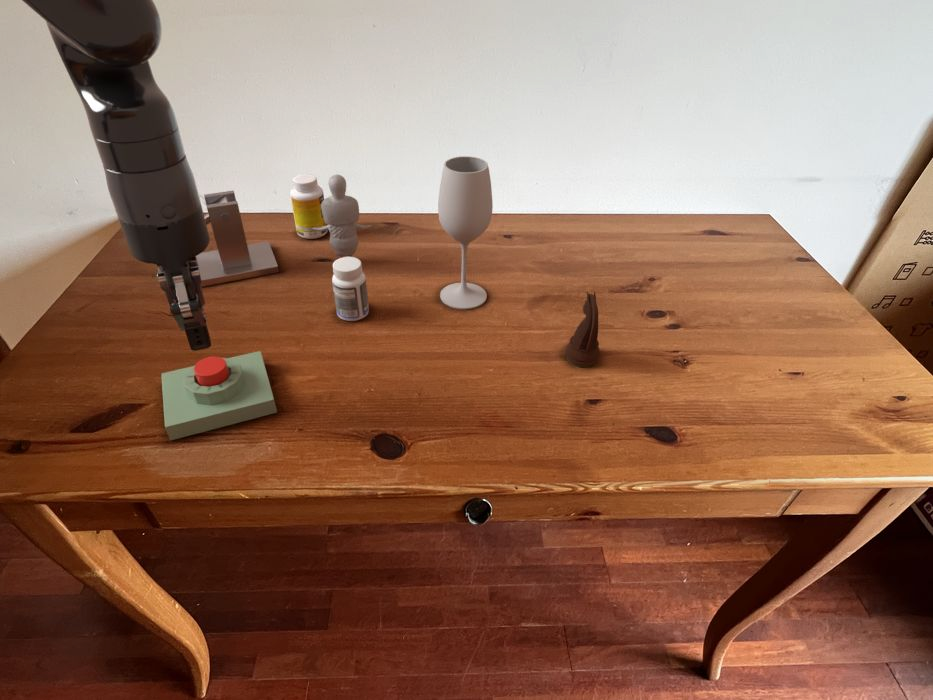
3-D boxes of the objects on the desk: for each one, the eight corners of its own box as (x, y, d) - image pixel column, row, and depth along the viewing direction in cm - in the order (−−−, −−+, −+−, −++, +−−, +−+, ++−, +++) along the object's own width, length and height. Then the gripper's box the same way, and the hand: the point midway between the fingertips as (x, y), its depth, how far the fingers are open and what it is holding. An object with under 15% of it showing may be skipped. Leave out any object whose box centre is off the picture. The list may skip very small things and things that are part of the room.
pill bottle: (356, 300, 92) (350, 251, 87) (375, 313, 90) (371, 263, 84) (330, 312, 90) (323, 262, 84) (349, 326, 87) (342, 276, 82)
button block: (170, 440, 69) (160, 415, 67) (166, 386, 76) (156, 362, 74) (277, 412, 73) (271, 388, 71) (263, 363, 80) (257, 339, 78)
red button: (198, 390, 70) (195, 378, 69) (196, 371, 73) (192, 360, 72) (231, 382, 72) (227, 371, 71) (227, 364, 74) (224, 353, 73)
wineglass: (434, 307, 91) (432, 173, 78) (444, 280, 97) (443, 152, 84) (484, 312, 90) (490, 178, 77) (490, 285, 96) (497, 156, 83)
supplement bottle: (329, 238, 107) (321, 183, 101) (297, 241, 106) (287, 186, 100) (327, 224, 112) (320, 171, 105) (296, 227, 111) (287, 173, 104)
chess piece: (593, 345, 85) (605, 285, 78) (603, 369, 81) (616, 307, 74) (561, 347, 84) (570, 286, 78) (569, 370, 80) (580, 308, 74)
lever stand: (200, 287, 94) (180, 217, 87) (196, 260, 101) (176, 193, 93) (279, 272, 98) (265, 204, 91) (269, 247, 105) (256, 181, 97)
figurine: (374, 253, 103) (367, 169, 94) (375, 265, 100) (368, 179, 91) (318, 256, 102) (305, 171, 93) (317, 268, 99) (303, 181, 90)
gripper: (116, 183, 62) (163, 321, 73) (115, 241, 53) (169, 389, 63) (194, 174, 65) (228, 308, 75) (206, 227, 55) (243, 372, 66)
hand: (201, 345), depth 69 cm, fingers closed
